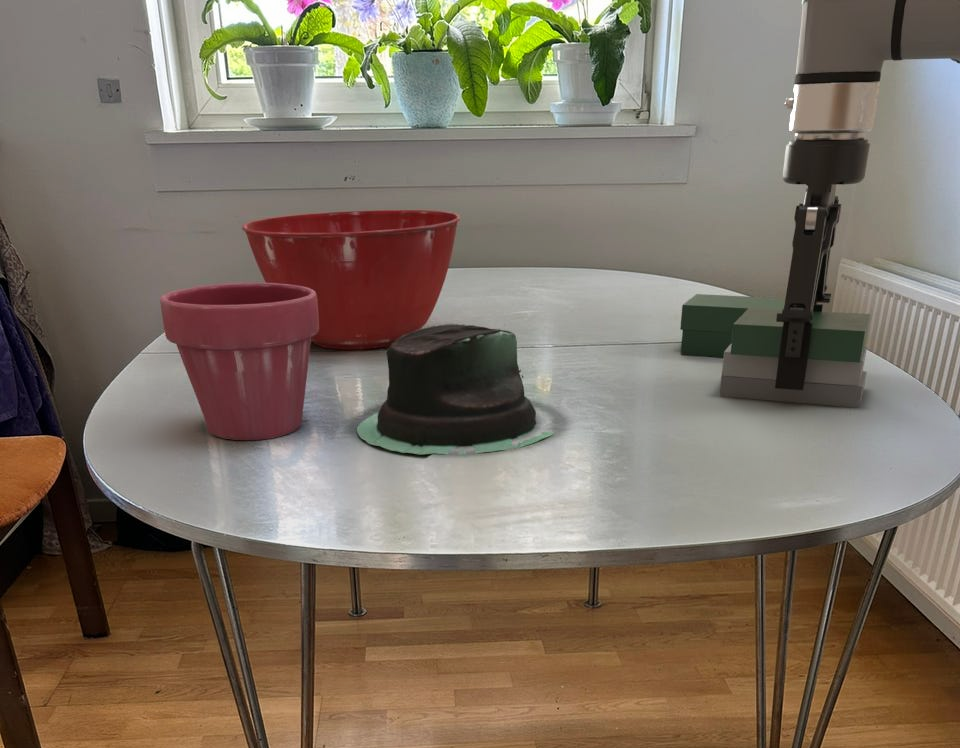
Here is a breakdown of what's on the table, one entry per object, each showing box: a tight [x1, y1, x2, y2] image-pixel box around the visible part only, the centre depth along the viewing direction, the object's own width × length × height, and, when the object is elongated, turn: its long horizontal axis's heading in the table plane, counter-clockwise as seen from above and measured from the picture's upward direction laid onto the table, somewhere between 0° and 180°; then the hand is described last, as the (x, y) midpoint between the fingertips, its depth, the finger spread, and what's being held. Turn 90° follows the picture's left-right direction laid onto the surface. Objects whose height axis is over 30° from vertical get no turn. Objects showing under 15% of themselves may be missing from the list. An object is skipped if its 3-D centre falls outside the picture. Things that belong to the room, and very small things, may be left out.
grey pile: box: [718, 343, 868, 409], centre depth 100 cm, size 14×7×5 cm, turn 67°
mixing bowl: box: [241, 209, 461, 350], centre depth 127 cm, size 28×28×16 cm
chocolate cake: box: [356, 323, 555, 456], centre depth 91 cm, size 15×19×20 cm
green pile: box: [679, 293, 796, 358], centre depth 119 cm, size 13×8×6 cm, turn 67°
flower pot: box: [159, 282, 319, 441], centre depth 91 cm, size 14×14×13 cm
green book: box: [730, 308, 871, 363], centre depth 98 cm, size 12×10×3 cm
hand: (795, 376), depth 100 cm, fingers closed on green book, 9 cm apart
